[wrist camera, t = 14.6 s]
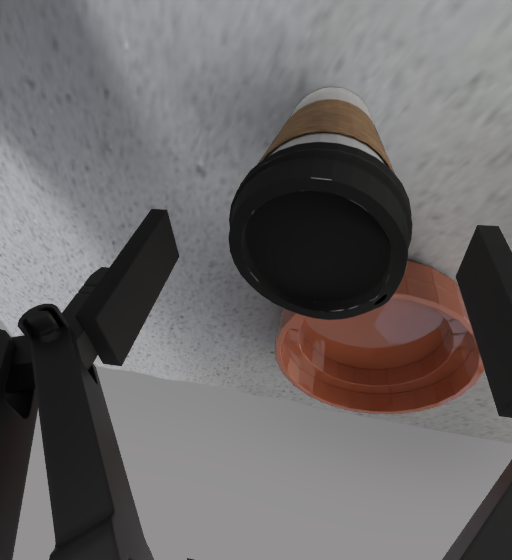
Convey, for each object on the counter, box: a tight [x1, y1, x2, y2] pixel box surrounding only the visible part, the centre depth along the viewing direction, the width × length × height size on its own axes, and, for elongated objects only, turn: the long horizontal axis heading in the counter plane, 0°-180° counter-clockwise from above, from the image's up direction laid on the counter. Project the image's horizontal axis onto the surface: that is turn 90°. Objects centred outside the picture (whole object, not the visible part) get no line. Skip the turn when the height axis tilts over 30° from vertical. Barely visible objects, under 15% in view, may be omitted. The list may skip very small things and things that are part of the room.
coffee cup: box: [229, 87, 412, 320], centre depth 21 cm, size 8×8×15 cm
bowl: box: [275, 260, 484, 414], centre depth 37 cm, size 19×19×5 cm
